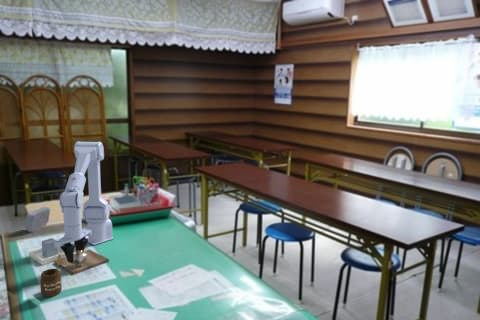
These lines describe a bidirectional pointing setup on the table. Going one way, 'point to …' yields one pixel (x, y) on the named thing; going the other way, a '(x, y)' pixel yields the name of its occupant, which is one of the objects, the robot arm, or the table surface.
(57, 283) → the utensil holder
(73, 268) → the crank base
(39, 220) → the stone block
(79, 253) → the crank
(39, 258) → the tray
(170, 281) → the table surface
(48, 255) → the block
